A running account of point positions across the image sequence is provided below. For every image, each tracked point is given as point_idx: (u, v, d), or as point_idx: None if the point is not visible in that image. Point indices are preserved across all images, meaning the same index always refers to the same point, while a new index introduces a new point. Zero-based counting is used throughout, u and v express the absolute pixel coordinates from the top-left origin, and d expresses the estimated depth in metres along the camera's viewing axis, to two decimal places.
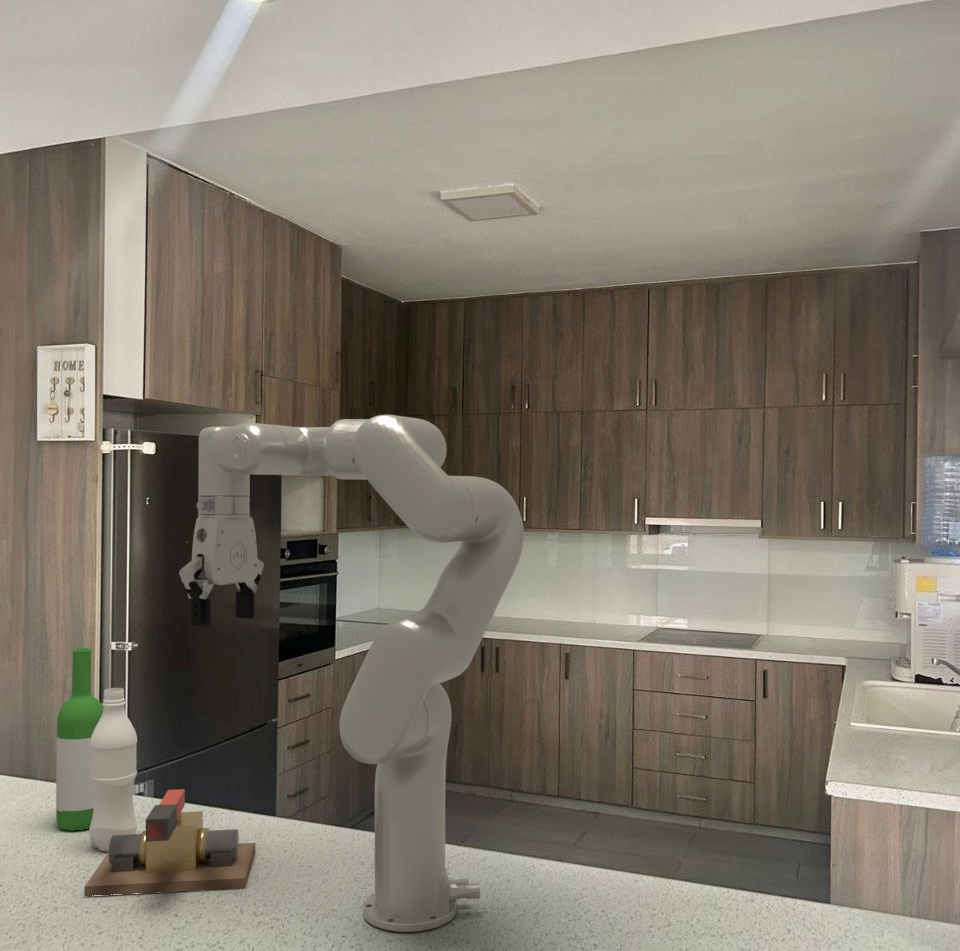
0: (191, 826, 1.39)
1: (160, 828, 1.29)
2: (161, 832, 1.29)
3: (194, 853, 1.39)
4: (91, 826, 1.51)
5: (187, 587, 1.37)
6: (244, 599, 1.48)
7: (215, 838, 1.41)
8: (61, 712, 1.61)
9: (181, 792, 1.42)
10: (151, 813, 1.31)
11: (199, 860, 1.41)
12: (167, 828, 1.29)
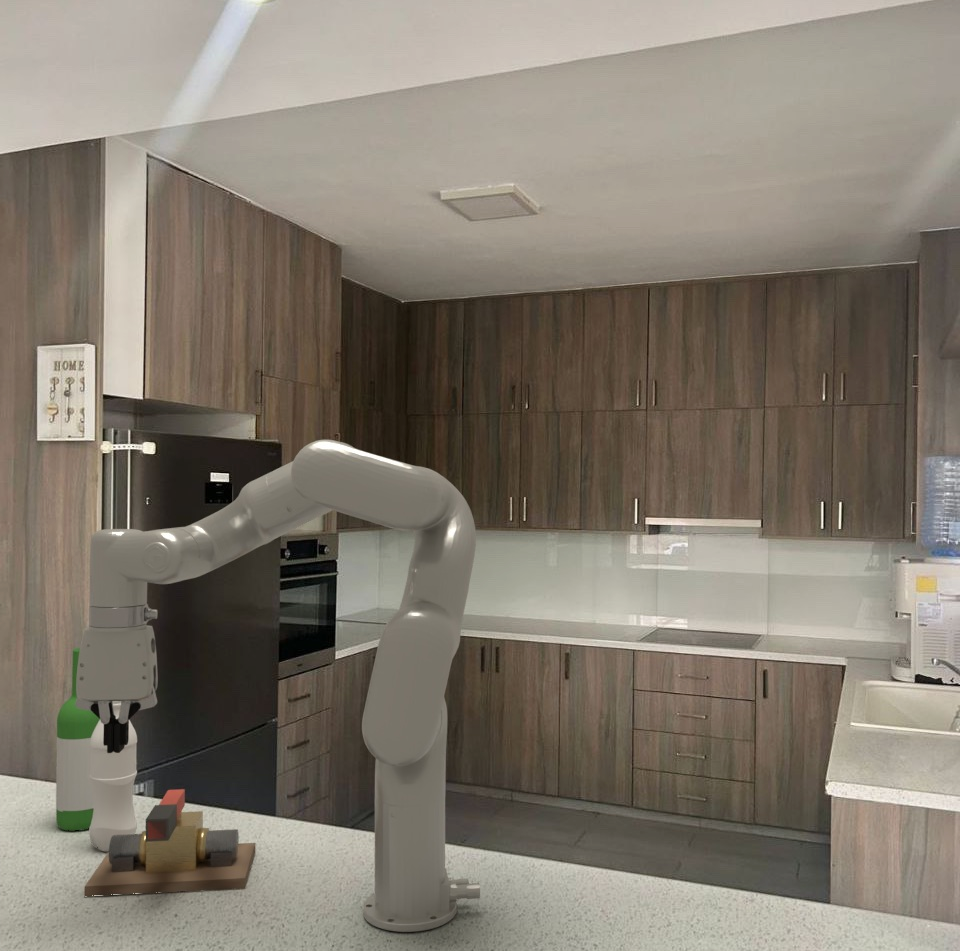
0: (191, 826, 1.39)
1: (160, 828, 1.29)
2: (161, 832, 1.29)
3: (194, 853, 1.39)
4: (91, 826, 1.51)
5: None
6: None
7: (215, 838, 1.41)
8: (61, 712, 1.61)
9: (181, 792, 1.42)
10: (151, 813, 1.31)
11: (199, 860, 1.41)
12: (167, 828, 1.29)
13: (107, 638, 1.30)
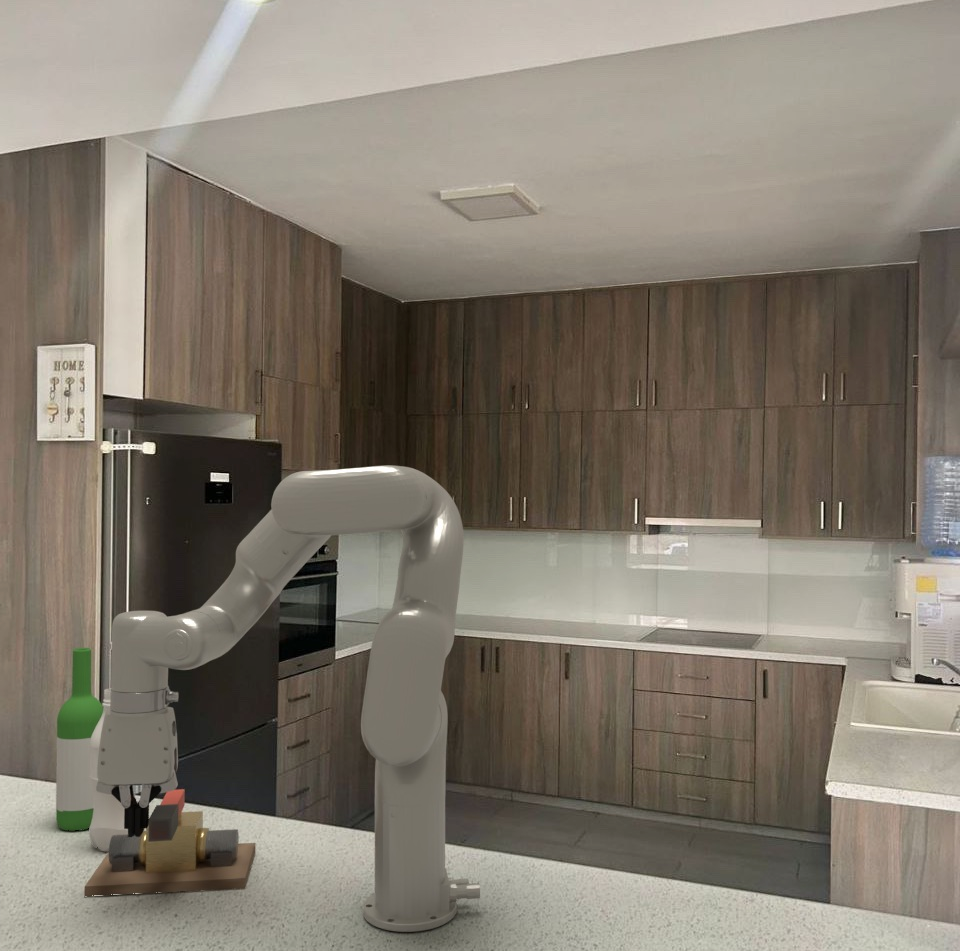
0: (191, 826, 1.39)
1: (163, 828, 1.29)
2: (164, 832, 1.29)
3: (194, 853, 1.39)
4: (91, 826, 1.51)
5: None
6: None
7: (215, 838, 1.41)
8: (61, 712, 1.61)
9: (181, 792, 1.42)
10: (153, 813, 1.32)
11: (199, 860, 1.41)
12: (170, 828, 1.30)
13: (129, 723, 1.30)
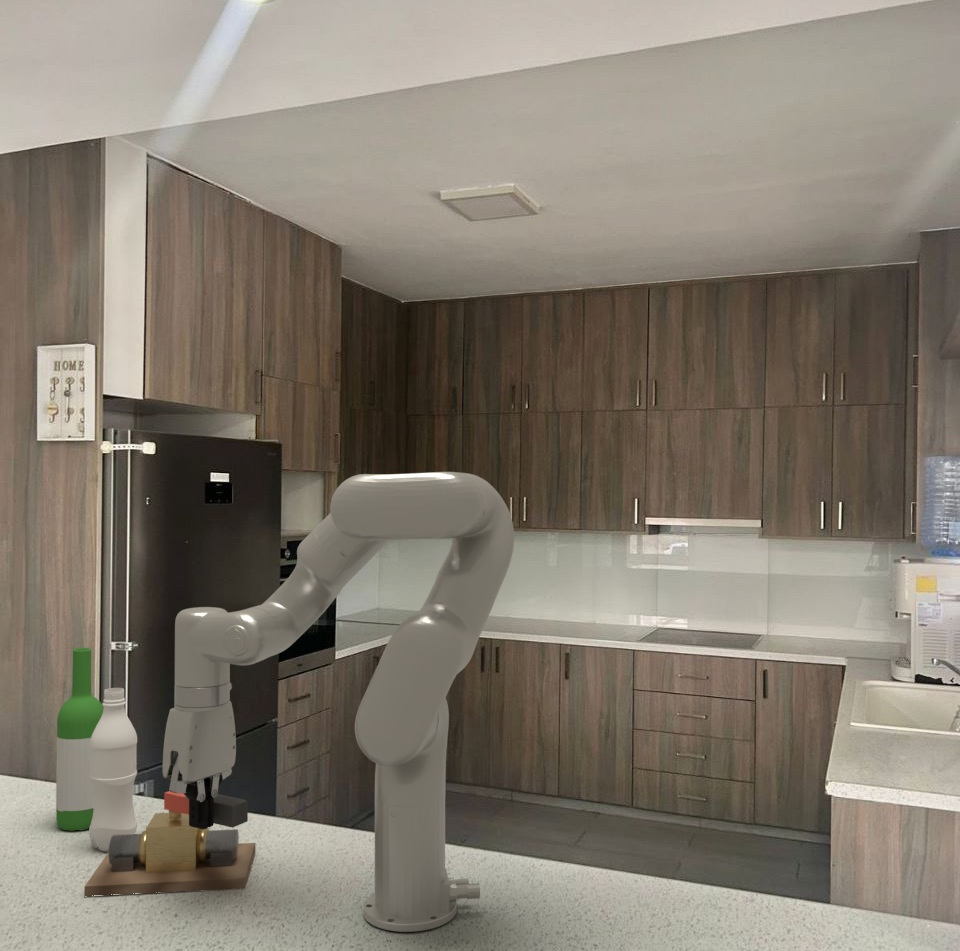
0: None
1: (242, 811, 1.36)
2: (243, 815, 1.36)
3: (194, 853, 1.39)
4: (91, 826, 1.51)
5: None
6: None
7: (215, 838, 1.41)
8: (61, 712, 1.61)
9: None
10: (221, 803, 1.36)
11: (199, 860, 1.41)
12: (247, 810, 1.37)
13: (211, 716, 1.33)
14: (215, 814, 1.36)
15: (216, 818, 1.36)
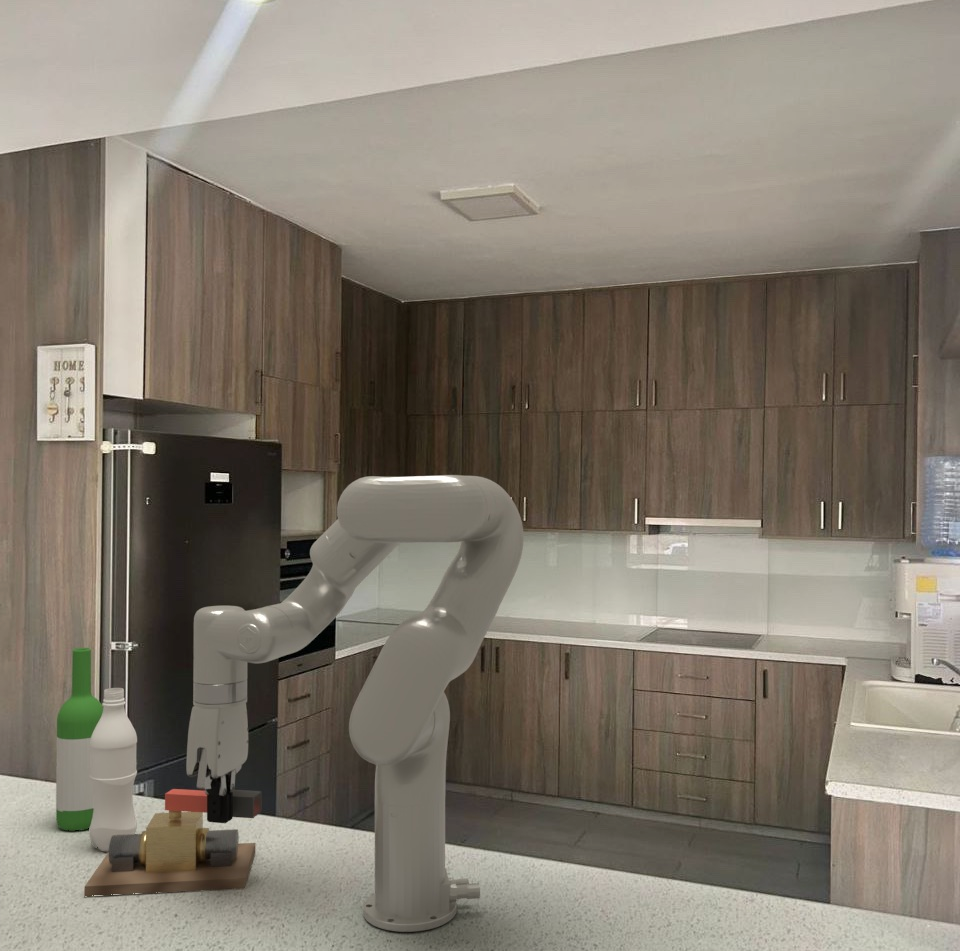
0: (191, 826, 1.39)
1: (258, 802, 1.40)
2: (258, 805, 1.40)
3: (194, 853, 1.39)
4: (91, 826, 1.51)
5: None
6: None
7: (215, 838, 1.41)
8: (61, 712, 1.61)
9: (181, 789, 1.43)
10: (238, 796, 1.39)
11: (199, 860, 1.41)
12: None
13: (233, 712, 1.36)
14: None
15: (233, 811, 1.39)
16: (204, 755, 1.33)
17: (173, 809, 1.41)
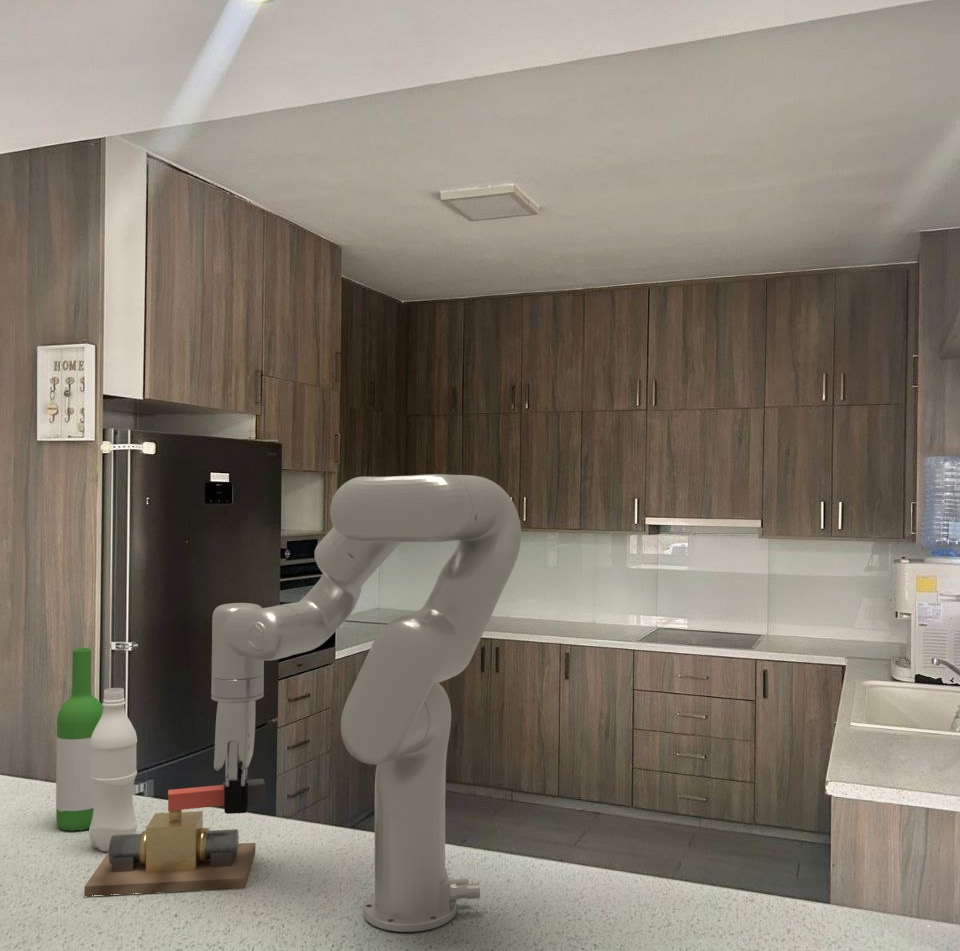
0: (191, 826, 1.39)
1: None
2: None
3: (194, 853, 1.39)
4: (91, 826, 1.51)
5: None
6: None
7: (215, 838, 1.41)
8: (61, 712, 1.61)
9: (178, 789, 1.43)
10: (248, 785, 1.44)
11: (199, 860, 1.41)
12: None
13: (254, 705, 1.41)
14: None
15: None
16: (233, 748, 1.37)
17: (177, 809, 1.41)
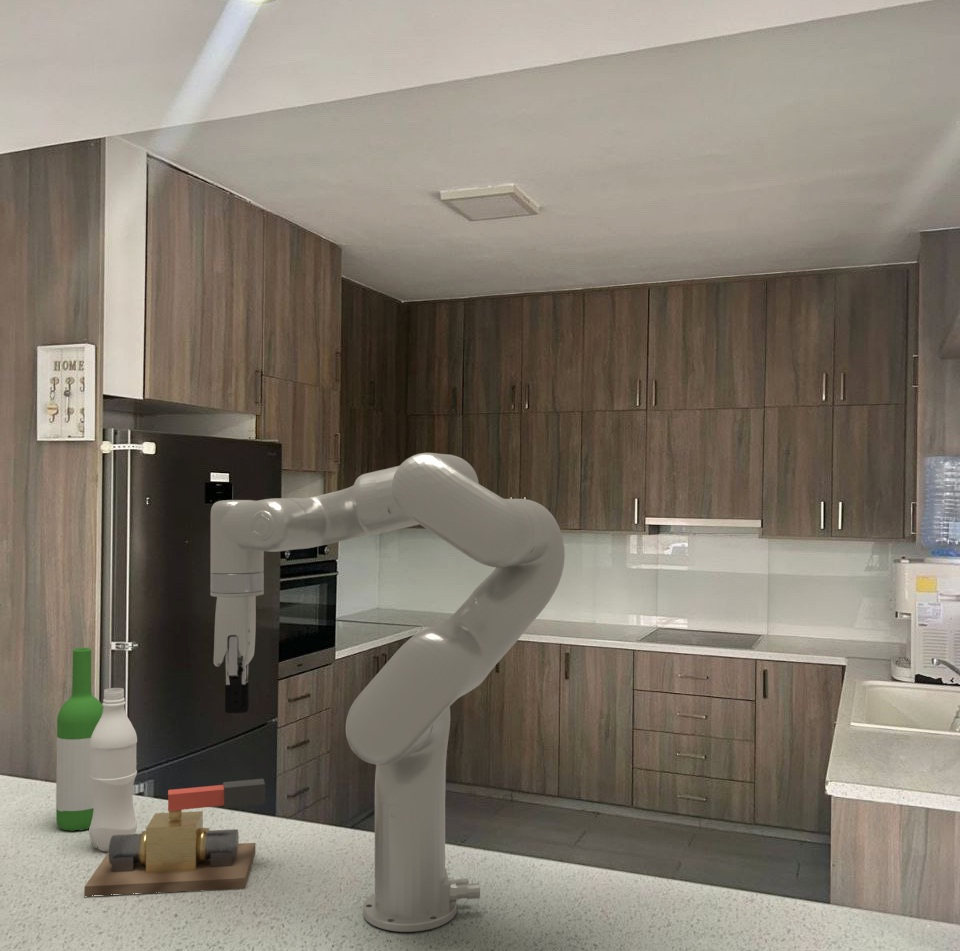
0: (191, 826, 1.39)
1: None
2: None
3: (194, 853, 1.39)
4: (91, 826, 1.51)
5: None
6: None
7: (215, 838, 1.41)
8: (61, 712, 1.61)
9: (178, 789, 1.43)
10: (248, 785, 1.44)
11: (199, 860, 1.41)
12: None
13: (254, 602, 1.38)
14: (242, 797, 1.44)
15: (244, 800, 1.44)
16: (233, 643, 1.34)
17: (177, 809, 1.41)
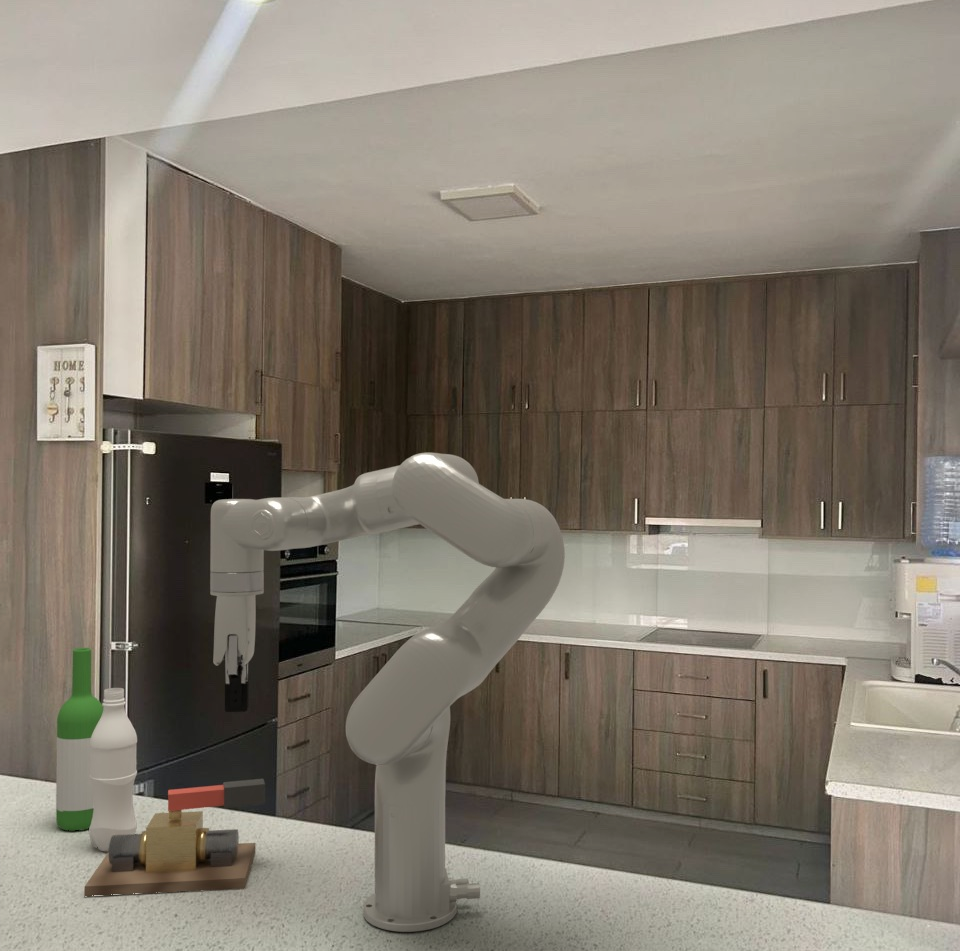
0: (191, 826, 1.39)
1: None
2: None
3: (194, 853, 1.39)
4: (91, 826, 1.51)
5: None
6: None
7: (215, 838, 1.41)
8: (61, 712, 1.61)
9: (178, 789, 1.43)
10: (248, 785, 1.44)
11: (199, 860, 1.41)
12: None
13: (254, 601, 1.38)
14: (242, 797, 1.44)
15: (244, 800, 1.44)
16: (233, 642, 1.34)
17: (177, 809, 1.41)
